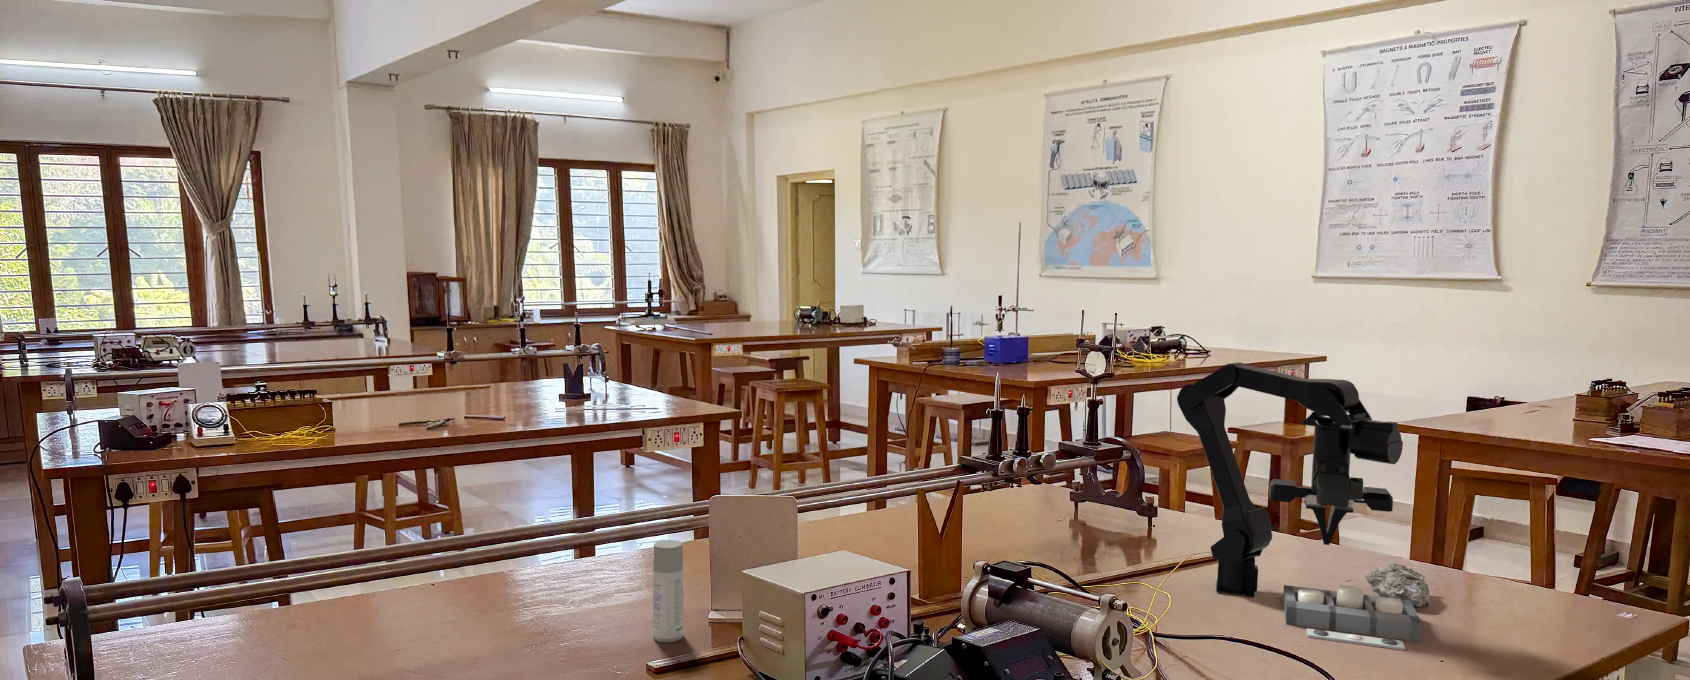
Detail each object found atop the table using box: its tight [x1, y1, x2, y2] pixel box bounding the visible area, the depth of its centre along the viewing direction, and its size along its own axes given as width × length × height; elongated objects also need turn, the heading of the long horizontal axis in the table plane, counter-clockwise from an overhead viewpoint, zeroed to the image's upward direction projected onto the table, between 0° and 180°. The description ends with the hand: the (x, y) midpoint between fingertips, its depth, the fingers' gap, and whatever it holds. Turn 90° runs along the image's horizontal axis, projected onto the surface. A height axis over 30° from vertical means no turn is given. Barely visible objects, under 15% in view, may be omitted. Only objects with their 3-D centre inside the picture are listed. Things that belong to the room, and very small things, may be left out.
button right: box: [1375, 598, 1403, 614], centre depth 173 cm, size 4×4×4 cm
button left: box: [1298, 588, 1324, 605], centre depth 177 cm, size 4×4×4 cm
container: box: [652, 539, 684, 643], centre depth 162 cm, size 5×5×15 cm
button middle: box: [1336, 585, 1364, 609], centre depth 175 cm, size 4×4×4 cm
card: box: [1306, 628, 1406, 651], centre depth 166 cm, size 14×3×1 cm, turn 70°
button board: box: [1282, 584, 1423, 643], centre depth 175 cm, size 20×12×3 cm, turn 70°
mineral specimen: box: [1364, 563, 1431, 608], centre depth 186 cm, size 6×11×12 cm
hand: (1326, 544), depth 176 cm, fingers closed
